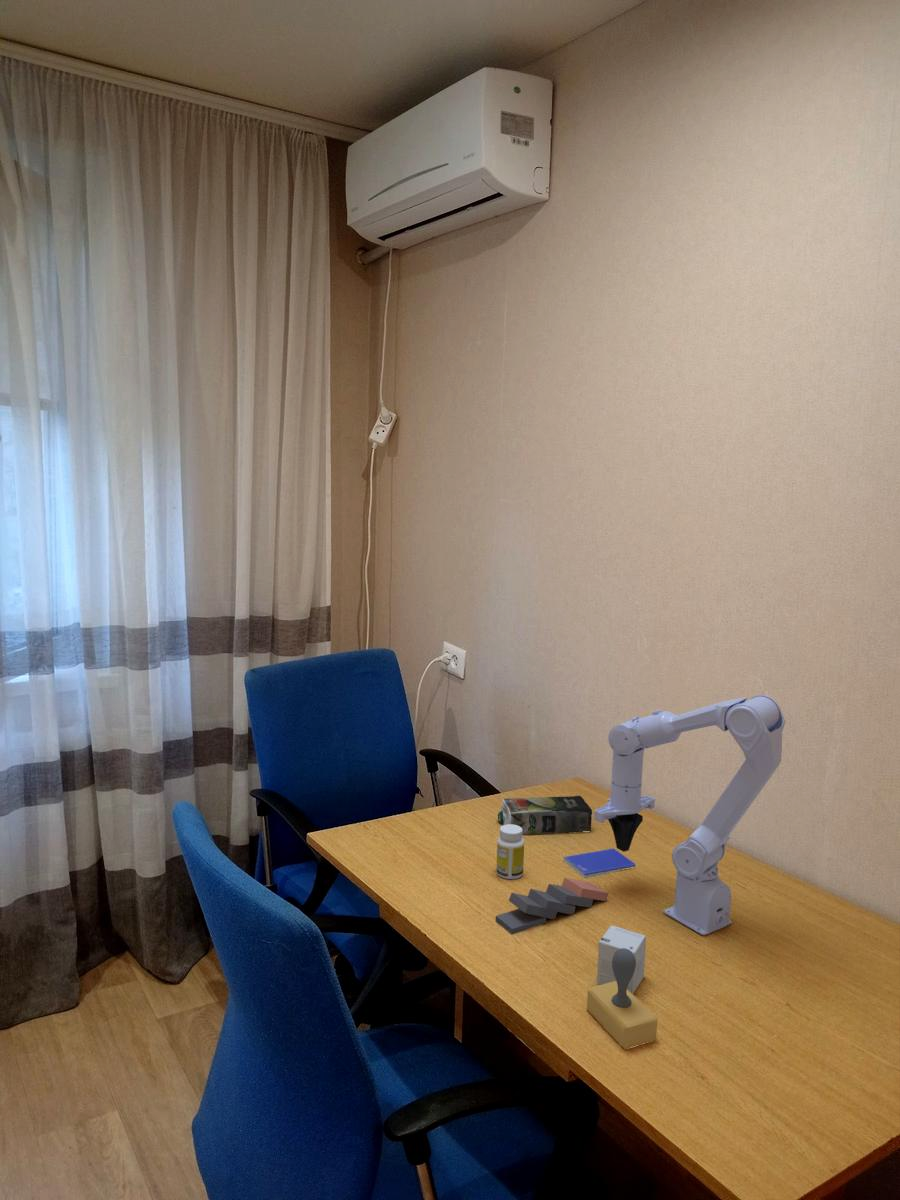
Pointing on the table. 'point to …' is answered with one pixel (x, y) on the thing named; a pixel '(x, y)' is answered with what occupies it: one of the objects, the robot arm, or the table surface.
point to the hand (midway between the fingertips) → (622, 849)
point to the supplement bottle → (510, 852)
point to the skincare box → (612, 943)
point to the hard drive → (598, 862)
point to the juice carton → (547, 814)
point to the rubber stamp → (622, 1005)
